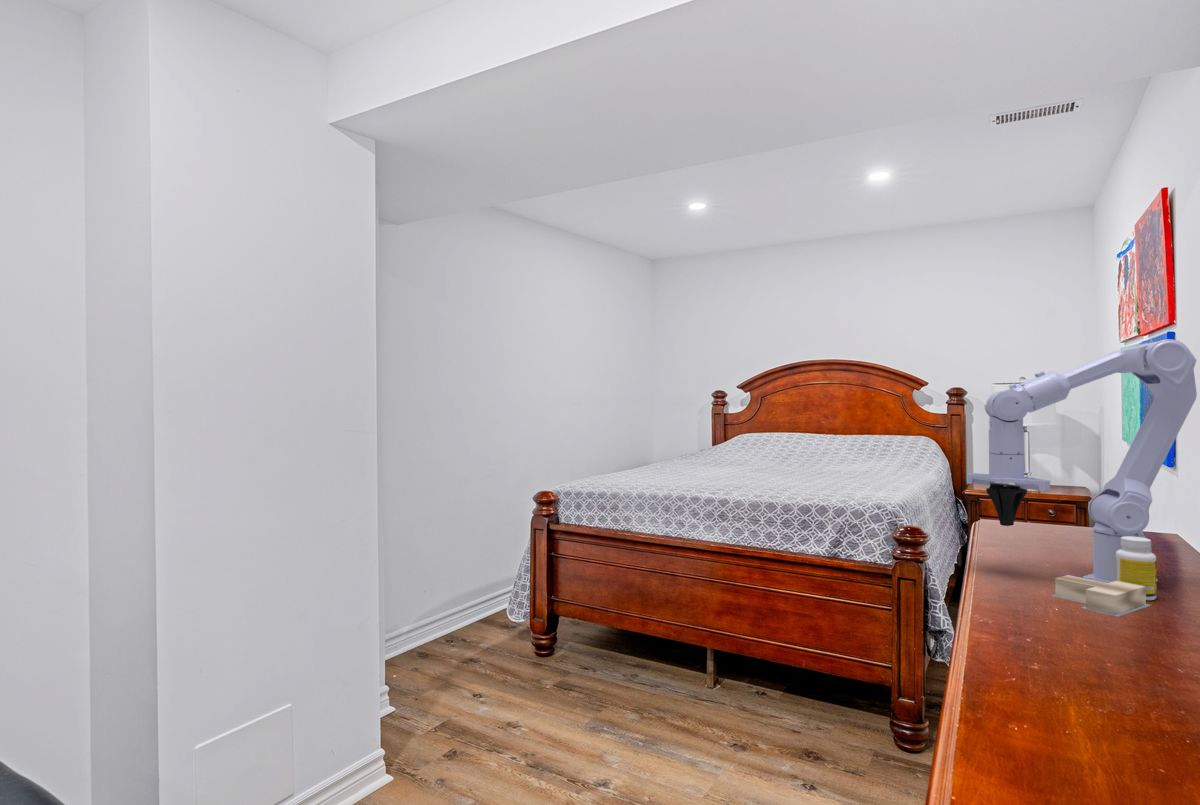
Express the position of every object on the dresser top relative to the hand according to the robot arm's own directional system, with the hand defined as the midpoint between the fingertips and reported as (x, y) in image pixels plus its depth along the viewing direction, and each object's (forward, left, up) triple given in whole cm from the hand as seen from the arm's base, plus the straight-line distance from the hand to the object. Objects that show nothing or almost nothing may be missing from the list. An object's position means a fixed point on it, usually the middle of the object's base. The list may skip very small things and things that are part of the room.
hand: (1006, 525), depth 127 cm
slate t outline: (+5, +17, -9) cm, 20 cm away
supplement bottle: (-4, +19, -10) cm, 22 cm away
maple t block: (+5, +17, -9) cm, 20 cm away
